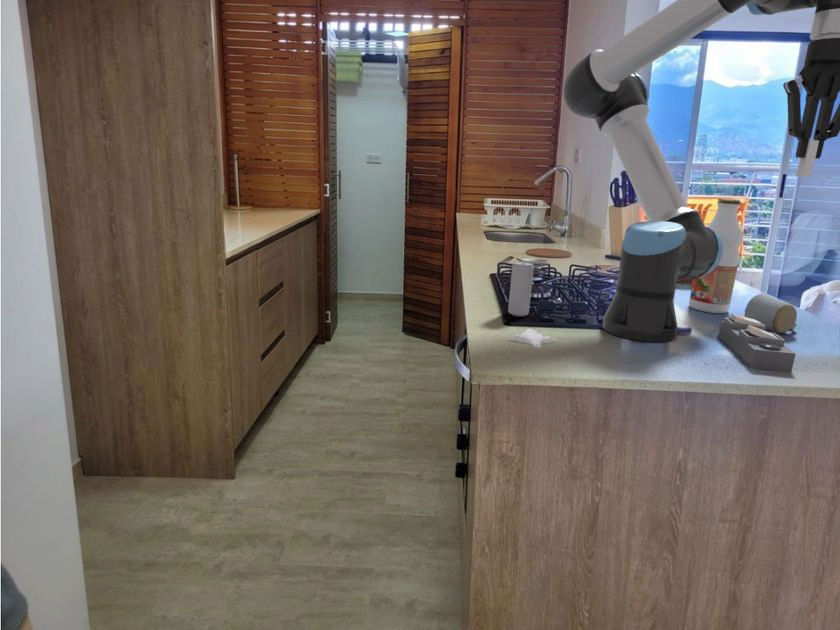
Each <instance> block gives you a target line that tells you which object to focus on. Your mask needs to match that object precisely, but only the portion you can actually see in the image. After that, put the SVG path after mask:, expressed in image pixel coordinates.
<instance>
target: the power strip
mask: <svg viewBox="0 0 840 630" xmlns="http://www.w3.org/2000/svg"><path fill="white" fill-rule="evenodd" d="M723 319H724V320H720V324H719V329H718V333H717V337H718V338H719V339H720V340H721V341H722V342H723V343H724V344H725V345H726V346H728V348H730V349H731V351H733V353H735V355H737V357H739V358H740V359H741V360H742V362H744V363H745V364H746V365H747V366H748V367H749V368H753V369H762V370H770V371H771V370H772V371H781V372H790V373H791V372H792V371H793V367H794V362H795V359H796V358H795V357H796V352H795V351H793V350H791V349H790V348H788V347H787V346H786V345H785V343H786V342H785V341H786V339H784V338H783V337H781V336H780V335H779V334H778V333H773V332H770V333H771V334H773V335H775V336H776V337H777V338H779V339H773V338H763V337H759V336H756V335H754V334H752V333H750V332H749V331H748V330H747V327H748V325H751V324H741V323H737V322H734V321H733V320H732V319H731V318H730V317H728V316H727V317H726V316H725V317H724V318H723ZM756 321H758V320H756ZM758 322H759V321H758ZM759 323H761V322H759ZM751 326H754V327H756V328H759V329H761V330H764V331H766V330H765V328H766V326H765V325H763V324H762V323H761V325H751Z"/></svg>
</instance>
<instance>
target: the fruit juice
mask: <svg viewBox="0 0 840 630" xmlns="http://www.w3.org/2000/svg"><path fill="white" fill-rule="evenodd" d="M740 205H741V200H740V199H735V198H734V199H733V198H721V197H720V198H718V199H717V210H716V213H715V215H714V217H713V218H712V220H711V221H710V222H709V223H708V224H707V225H706V226H707V227H709V228H711V229H713V230H714V231H716V232H717V233H718V235H719V236H720V238H721V240H722V244H723V254H722V257H721V259H720V262H719V264H718V265H717V267H716V268H715V269H714V270H713V271H712V272H710V273H709V274H707V275H705V276H702V277H699V278H697V279H693V283H691V284H692V285H691V291H690V297H689V301H688V305H689V307H690V308H691V309H693V310H697V311H699V312H703V313H711V314H725V313H728V312H729V309H730V305H731V301H732V297H733V291H734V287H735V282H736V277H737V272H738V267H739V263H740V262H739V261H740V252H739V248H740V245H741V243H742V242H743V240H744V239H743V238H744V231H743V229H742V228H741V226H740V224H739V221H738V208H739V207H740Z"/></svg>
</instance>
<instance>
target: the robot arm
mask: <svg viewBox="0 0 840 630" xmlns="http://www.w3.org/2000/svg"><path fill="white" fill-rule="evenodd" d="M745 6H746V8H748V12H749V13H750V14H752V15H754V16H761V15H762V16H763V15H768V16H771V15H774V14H779V13H784V12H785V13H786V12H792V11H799V10H804V9H811V8H815V12H814V17H813V21H812V25H811V31H810V34H809V39H810V40H811V41H810V42H809V43H808V45H807V49H806V54H805V58H804V63H803V67H802V69H801V70H800V72H799V74H798V76H797V77H794V78H792V79H791V80H787V81H785V82H784V83H783V85H782V86H783V89H784V92H785V94H786V97H787V98H786V99H787V100H786V101H787V127H788V135H789V136H790V137H793V138H796V140H797V146H796V151H795V158H798V159H799V161H798V166H797V170H796V171H797V172H796V175H795V177H803V178H804V177H805V178H812V174H813V169H814V166H815V161H816V159H820V158H821V157H822V154H823V149H824V144H825V142H826V140H829V139H831V138H836V137H838V135H840V134H839V133H840V103H839V104H838V106H837V108H836V109H835V112H834V114H833V111H834V106H835V103H836V101H837V98H838V95H839V93H840V0H675V1H674V2H673V3H671V4H669V5H668V6H667V7H665V8H663V9H662V10H661V11H659V12H658V13H656V14H654V15H653V16H652V17H650V18H649V19H648V20H646V21H645V22H642V23H641V24H640V25H638V26H637V27H636V28H634V29H633V30H631V31H629V32H628V33H627V34H626V35H624V36H622V37H621V38H619V39H618V40H616V41H615V42H614V43H612V44H611V45H609V46H608V47H606V48H605V49H599V48H598V49H594V51H592V52H591V53H588V55H586V56H585V57H583V58H582V59H581V60H580V61H578V62H577V63H576V64H575V65H574V66H573V68H571V69H570V71H569V73H568V74H567V75H566V77H565V81H564V84H563V89H562V90H563V91H562V93H563V99H564V102H565V105H566V106H567V108H568V109H569V111H571V112H572V113H573V114H574V115H576V116H579V117H582V118H587V119H588V118H589V119H594V120H595V122H596V125H597V126H598V129H599V131H600V134H601V135H602V136H603V137H606V138H610V140H611V142H612V144H613V146H614V148H615V150H616V153H617V155H618V157H619V159H620V161H621V164H622V166H623V169H624V170H625V173H626V175H627V177H628V178H629V182H630V184H631V185H632V187H633V190H634V193H635V194H636V196H637V199H638V202H639V203H640V206H641V208H642V209H643V212H644V214H645V217H646V219H647V220H646V221H639V222H635V223H631V224H630V225H629V226H628V227H627V228H626V229H625V232H624V235H623V239H622V242H621V247H622V248H621V252H620V253H621V255H620V259H619V260H620V261H619V267H618V275H617V283H616V289H615V294H614V296H613V298H612V300H611V302H610V304H609V306H608V308H607V310H606V311H605V314H604V316H603V319H602V329H603V330H604V331H606V332H608V333H609V334H612V335H613V336H617V337H621V338H625V339H627V340H628V339H629V340H632V341H639V342H651V343H655V342H656V343H664V342H671V341H673V340H675V339H676V338H677V334H678V321H677V315H676V310H675V305H674V303H675V302H674V299H675V293H676V287H677V283H678V282H677V281H680V280H691V279H697V278H699V277H702V276H705V275H707V274H709V273H710V272H712V271H713V270H714V269H715V268H716V267H717V265H718V264H719V262H720V259H721V257H722V254H723V244H722V240H721V238H720V236H719V235H718V233H717V232H716V231H714V230H713V229H711V228H709V227H707V225H705V223H704V221H703V219H702V217H701V215H700V213H699V211H698V210H697V209H694V208H689V207H688V205H687V203H686V201H685V199H684V197H683V195H682V193H681V191H680V189H679V185H678V184H677V182H676V180H675V178H674V176H673V173H672V171H671V169H670V167H669V165H668V163H667V161H666V159H665V157H664V154H663V152H662V151H661V149H660V146H659V143H658V141H657V139H656V138H655V135H654V134H653V132H652V130H651V127H650V125H649V123H648V121H647V117H648V115H649V113H650V109H649V106H648V104H649V102H648V100H649V99H650V97H649V96H650V92H649V86H648V84H647V82H646V81H645V79H644V78H643V77H642V76H641V75H640V74H638V73H637V72H639V71H640V70H642V69H644V68H646V67H647V66H649V65H650V64H651V63H653V62H655V61H656V60H658V59H659V58H662V57H663V56H665V55H666V54H667V53H669V52H671V51H673V50H674V49H676V48H678V47H679V46H680V45H682V44H684V43H686V42H688V41H689V40H691V39H692V38H693V37H696V36H697V35H698V34H700V33H702V32H703V31H705V30H707V29H708V28H710V27H711V26H713V25H715V24H716V23H718V22H720V21H721V20H722V19H724V18H726V17H728V16H729V15H731V14H733V13H735V12H736V11H738V10H739V9H741V8H743V7H745ZM801 87H803V88H804V90H805V94H806V95H805V105H804V110H803V114H802V115H801V113H802V112H801V109H802V108H801V92H800V89H801ZM819 104H820V106H819ZM818 108H819V110H818ZM817 112H818V115H817ZM816 116H817V119H816ZM815 121H816V124H815ZM814 125H815V128H814ZM813 129H814V133H813ZM812 135H813V137H812ZM811 138H813V139H811Z"/></svg>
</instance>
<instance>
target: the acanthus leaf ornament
mask: <svg viewBox="0 0 840 630" xmlns="http://www.w3.org/2000/svg"><path fill="white" fill-rule="evenodd" d="M507 340H508V341H514V342H519V343H527V344H530V345H532V346H533V347H534V348H542V344H551V343H557V342H558V339H556V338H553V337H551V336H547V335H546V336H543V334H542V333H538V332H537V331H536V330H534V329H532V328H528V329H526V330H523V332H520V334H519V333H517V334H511V335H509V336H508V337H507Z"/></svg>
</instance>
